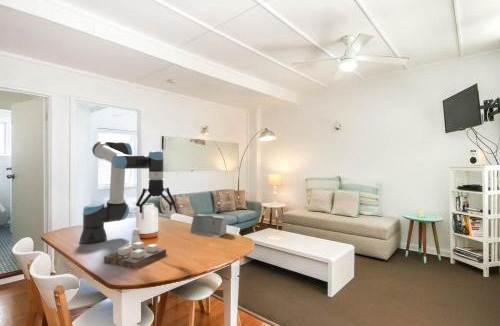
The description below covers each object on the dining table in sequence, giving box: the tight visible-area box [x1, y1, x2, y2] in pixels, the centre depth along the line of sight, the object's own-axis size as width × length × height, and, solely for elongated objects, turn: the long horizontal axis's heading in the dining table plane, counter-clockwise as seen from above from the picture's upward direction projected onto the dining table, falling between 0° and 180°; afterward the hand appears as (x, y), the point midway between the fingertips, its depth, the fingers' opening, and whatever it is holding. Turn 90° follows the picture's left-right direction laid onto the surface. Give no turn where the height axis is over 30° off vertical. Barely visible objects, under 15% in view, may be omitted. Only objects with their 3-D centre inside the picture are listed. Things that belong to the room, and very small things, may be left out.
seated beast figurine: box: [126, 227, 143, 248], centre depth 163 cm, size 10×9×12 cm
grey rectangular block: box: [189, 213, 228, 238], centre depth 200 cm, size 25×16×12 cm, turn 64°
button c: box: [133, 241, 145, 250], centre depth 152 cm, size 4×4×4 cm
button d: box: [146, 243, 159, 253], centre depth 148 cm, size 4×4×4 cm
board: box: [103, 245, 167, 270], centre depth 145 cm, size 20×22×4 cm
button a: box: [117, 246, 130, 256], centre depth 143 cm, size 4×4×4 cm
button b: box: [132, 249, 144, 259], centre depth 139 cm, size 4×4×4 cm
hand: (155, 218), depth 151 cm, fingers open, 13 cm apart
